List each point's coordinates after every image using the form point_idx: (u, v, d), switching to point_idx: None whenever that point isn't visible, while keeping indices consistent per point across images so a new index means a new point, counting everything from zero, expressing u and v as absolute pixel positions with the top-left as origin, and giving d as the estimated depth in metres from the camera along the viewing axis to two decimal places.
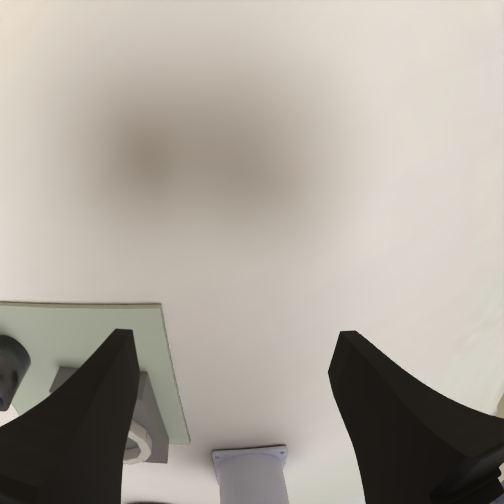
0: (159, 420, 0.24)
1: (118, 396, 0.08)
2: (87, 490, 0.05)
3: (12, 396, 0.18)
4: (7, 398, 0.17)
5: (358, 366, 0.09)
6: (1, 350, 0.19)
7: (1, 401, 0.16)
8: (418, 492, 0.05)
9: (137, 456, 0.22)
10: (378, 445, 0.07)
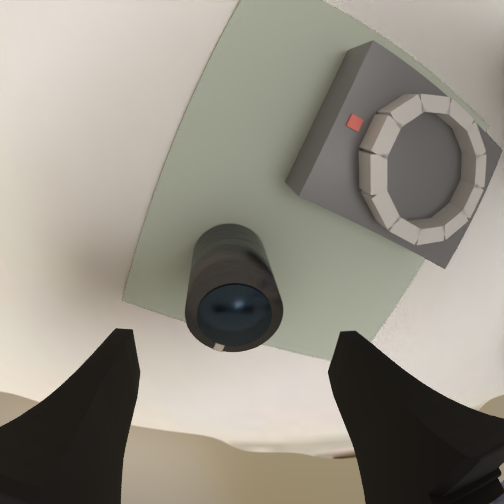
0: None
1: (118, 395, 0.08)
2: (87, 490, 0.05)
3: (268, 273, 0.13)
4: (259, 273, 0.12)
5: (358, 366, 0.09)
6: (200, 248, 0.15)
7: (256, 290, 0.12)
8: (418, 492, 0.05)
9: (474, 154, 0.12)
10: (378, 445, 0.07)
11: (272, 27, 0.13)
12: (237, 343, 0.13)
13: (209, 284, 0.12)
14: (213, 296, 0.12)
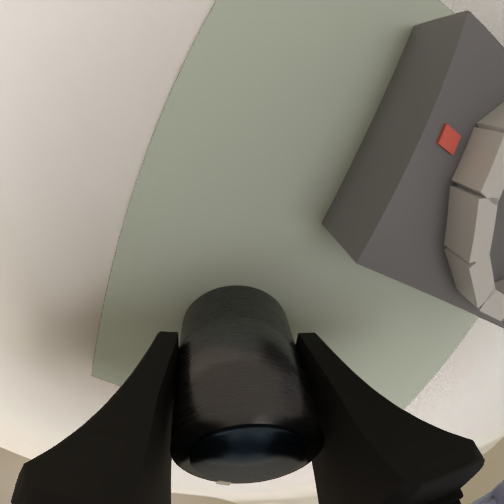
0: None
1: (169, 400, 0.08)
2: (154, 501, 0.05)
3: (303, 390, 0.08)
4: (292, 404, 0.07)
5: (312, 370, 0.09)
6: (192, 334, 0.09)
7: (285, 431, 0.06)
8: None
9: None
10: (329, 454, 0.07)
11: None
12: (252, 480, 0.07)
13: (207, 426, 0.06)
14: (214, 441, 0.06)
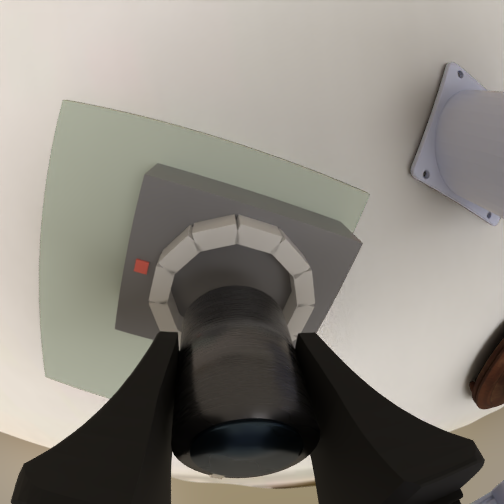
0: (266, 199, 0.15)
1: (169, 400, 0.08)
2: (154, 501, 0.05)
3: (303, 390, 0.08)
4: (295, 402, 0.07)
5: (312, 370, 0.09)
6: (196, 329, 0.10)
7: (287, 427, 0.07)
8: None
9: (291, 274, 0.13)
10: (329, 455, 0.07)
11: (83, 160, 0.14)
12: (246, 474, 0.08)
13: (213, 418, 0.07)
14: (218, 433, 0.07)
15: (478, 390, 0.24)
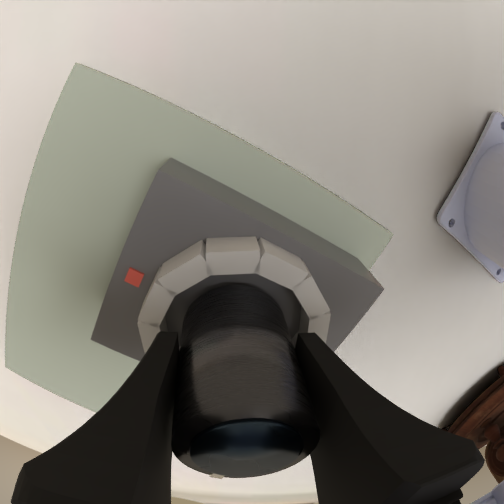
0: (288, 222, 0.13)
1: (169, 400, 0.08)
2: (154, 501, 0.05)
3: (303, 390, 0.08)
4: (295, 402, 0.07)
5: (312, 370, 0.09)
6: (197, 329, 0.10)
7: (287, 427, 0.07)
8: None
9: (307, 315, 0.11)
10: (329, 455, 0.07)
11: (84, 137, 0.12)
12: (245, 474, 0.08)
13: (213, 418, 0.07)
14: (218, 433, 0.07)
15: None
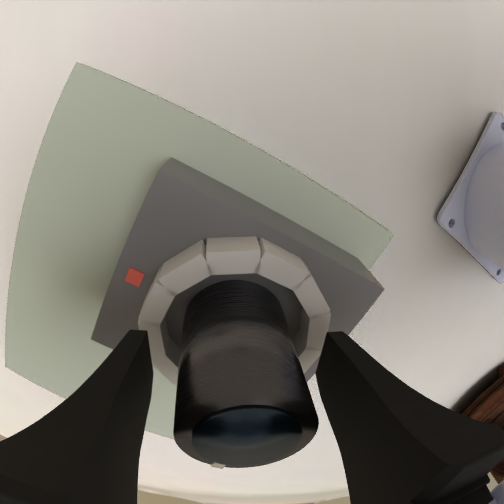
0: (288, 222, 0.13)
1: (134, 397, 0.08)
2: (108, 494, 0.05)
3: (301, 379, 0.08)
4: (294, 389, 0.07)
5: (343, 367, 0.09)
6: (198, 321, 0.10)
7: (285, 414, 0.07)
8: (401, 498, 0.05)
9: (308, 315, 0.11)
10: (362, 448, 0.07)
11: (85, 137, 0.12)
12: (246, 464, 0.08)
13: (214, 404, 0.07)
14: (219, 420, 0.07)
15: None
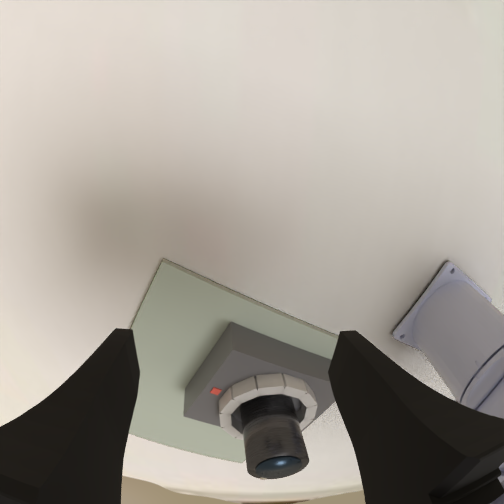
0: (297, 353, 0.23)
1: (118, 395, 0.08)
2: (87, 490, 0.05)
3: (302, 442, 0.18)
4: (299, 449, 0.17)
5: (358, 366, 0.09)
6: (253, 415, 0.20)
7: (295, 458, 0.17)
8: (418, 492, 0.05)
9: (305, 406, 0.21)
10: (378, 445, 0.07)
11: (173, 308, 0.21)
12: (276, 477, 0.17)
13: (268, 456, 0.16)
14: (269, 461, 0.16)
15: None
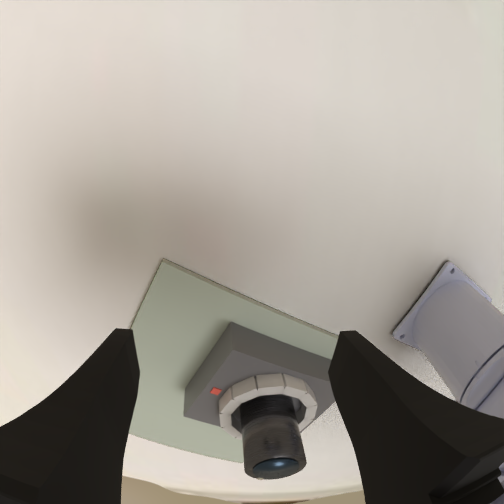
0: (297, 353, 0.23)
1: (118, 395, 0.08)
2: (87, 490, 0.05)
3: (300, 444, 0.18)
4: (297, 451, 0.17)
5: (358, 366, 0.09)
6: (253, 415, 0.20)
7: (293, 460, 0.17)
8: (418, 492, 0.05)
9: (305, 406, 0.21)
10: (378, 445, 0.07)
11: (173, 308, 0.21)
12: (273, 478, 0.18)
13: (266, 457, 0.16)
14: (267, 463, 0.16)
15: None
